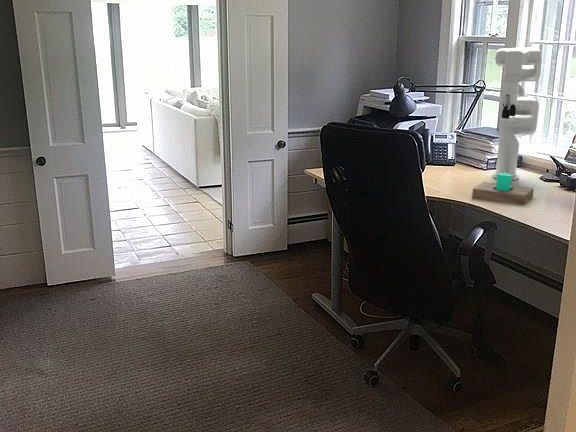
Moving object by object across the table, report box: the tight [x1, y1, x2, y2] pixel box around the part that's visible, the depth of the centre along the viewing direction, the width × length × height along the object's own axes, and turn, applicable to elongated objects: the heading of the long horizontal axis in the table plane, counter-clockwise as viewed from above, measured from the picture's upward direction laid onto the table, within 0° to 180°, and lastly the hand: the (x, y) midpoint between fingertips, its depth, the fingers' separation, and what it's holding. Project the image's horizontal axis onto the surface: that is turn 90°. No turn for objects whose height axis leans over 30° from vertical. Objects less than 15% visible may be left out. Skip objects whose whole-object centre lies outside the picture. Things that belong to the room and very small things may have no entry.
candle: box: [495, 172, 512, 191], centre depth 269 cm, size 6×6×12 cm
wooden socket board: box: [471, 181, 535, 206], centre depth 270 cm, size 16×22×4 cm
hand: (508, 117), depth 276 cm, fingers open, 9 cm apart
